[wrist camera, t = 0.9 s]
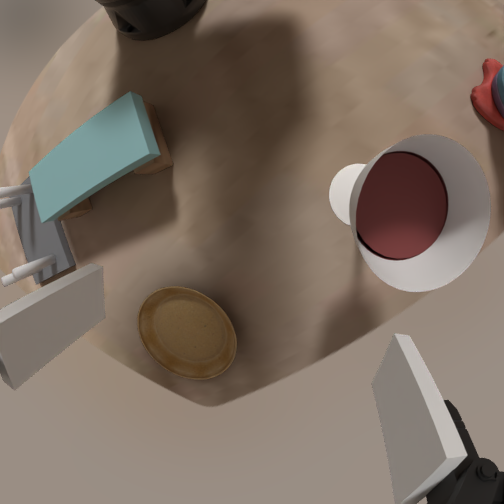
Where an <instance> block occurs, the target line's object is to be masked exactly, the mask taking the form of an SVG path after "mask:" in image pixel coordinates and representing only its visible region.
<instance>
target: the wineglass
mask: <svg viewBox="0 0 504 504" xmlns="http://www.w3.org/2000/svg"><path fill="white" fill-rule="evenodd" d="M329 200H330V203H331V207H332V210H333V211H334V213H335V214H336V216H337V217H338V218H339V219H340V220H341V221H343V222H344V223H345V224H347V225H350V226H351V229H352V233H353V236H354V239H355V241H356V244H357V246H358V248H359V250H360V252H361V255H362V256H363V258H364V260H365V261H366V263H367V264H368V266H369V267H370V268H371V270H372V271H373V272H374V273H375V274H376V275H377V276H378V277H379V278H380V279H381V280H382V281H384V282H385V283H387V284H388V285H390V286H392V287H395V288H397V289H400V290H404V291H408V292H423V291H430V290H433V289H437V288H440V287H442V286H444V285H446V284H448V283H450V282H451V281H453V280H454V279H456V278H457V277H458V276H459V275H461V274H462V273H463V272H464V271H465V270H466V269H467V268H468V267H469V265H470V264H471V263H472V262H473V261H474V259H475V258H476V256H477V254H478V253H479V251H480V249H481V247H482V245H483V243H484V241H485V237H486V234H487V231H488V227H489V222H490V212H491V202H490V193H489V188H488V183H487V181H486V178H485V175H484V173H483V171H482V169H481V167H480V165H479V163H478V162H477V161H476V159H475V158H474V157H473V155H472V154H471V153H470V152H469V151H468V150H467V149H466V148H465V147H463V146H462V145H460V144H459V143H457V142H456V141H454V140H452V139H449V138H447V137H444V136H439V135H432V134H423V135H417V136H413V137H410V138H407V139H404V140H402V141H400V142H398V143H396V144H394V145H392V146H391V147H389V148H387V149H385V150H384V151H382V152H381V153H379V154H378V155H377V156H376V157H374V158H373V159H372V160H371V161H370V162H369V163H368V164H367V165H366V164H353V165H349V166H346V167H345V168H343V169H342V170H340V171H339V172H338V173H337V175H336V176H335V177H334V178H333V180H332V183H331V186H330V190H329Z"/></svg>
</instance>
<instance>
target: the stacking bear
mask: <svg viewBox="0 0 504 504" xmlns="http://www.w3.org/2000/svg"><path fill="white" fill-rule="evenodd" d="M483 71H484V80H483V82H482V84H481V85H480V86H476V87H474V88H473V89H472V94H471V99H472V102H473V105H474V107H475V108H476V110H477V111H478V112H479V113H480V114H481V115H482V116H483V117H484V118H485V119H486V120H487V121H488V122H490V123H491V124H492V125H494V126H495V127H497V128H499V129H501V130H503V131H504V66H503V65H501V64H500V63H499V62H498V61H497V60H495V59H486V60H485V62H484V63H483Z"/></svg>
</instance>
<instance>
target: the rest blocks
mask: <svg viewBox="0 0 504 504" xmlns="http://www.w3.org/2000/svg"><path fill="white" fill-rule="evenodd" d="M143 103H144V106H145V109H146V112H147V115H148V118H149V121H150V125H151V128H152V131H153V134H154V137H155V140H156V143H157V146H158V148H159V151H160V154H161V155H159V156H158V157H156V158H154V159H152V160H150V161H148V162H146V163H144V164H143V165H141V166H139V167H137V168H135V169H134V170H133V172H134V174H156V173H157V172H159V171H161V170H163V169H165V168H167V167H169V166H171V165H173V162H172V159H171V156H170V153H169V150H168V147H167V145H166V142H165V139H164V136H163V133H162V130H161V127H160V124H159V121H158V118H157V115H156V112H155V109H154V106H153V105H151V104H149V103H147V102H144V101H143ZM91 209H92V206H91V203H90V200H89V197H88V198H86V199H84V200H83V201H81V202H80V203H78V204H77V205H75V206H74V207H72V208H71V209H70V210H68V211H67V212H65V213H64V214H62V215H61V216H59V217H58V221H61V220H66V219H70V218H75V217H79V216H82V215H83V214H85V213H86V212H88V211H90V210H91Z"/></svg>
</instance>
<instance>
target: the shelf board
mask: <svg viewBox="0 0 504 504" xmlns="http://www.w3.org/2000/svg"><path fill="white" fill-rule="evenodd" d="M159 155H161V154H160V151H159V148H158V146H157V143H156V140H155V137H154V134H153V131H152V128H151V125H150V121H149V118H148V115H147V112H146V109H145V106H144V103H143V99H142V96H140V95H138V94H136V93H133V92H131V91H130V92H128V93H126V94H125V95H123V96H122V97H120V98H119V99H117V100H116V101H114V102H113V103H112V104H110V105H109V106H107V107H106V108H104V109H103V110H102V111H100V112H99V113H97V114H96V115H95V116H93V117H92V118H91V119H89V120H88V121H87V122H85V123H84V124H83V125H82V126H80V127H79V128H78V129H77V130H75V131H74V132H73V133H72V134H70V135H69V136H68V137H67V138H66V139H64V140H63V141H62V142H61V143H60V144H58V145H57V146H56V147H55V148H54V149H53V150H52V151H51V152H49V153H48V154H47V155H46V156H45V157H44V158H43V159H42V160H41V161H40V162H39V163H38V164H37V165H35V166H34V167H33V168H32V169H31V170H30V171H29V176H30V180H31V185H32V189H33V193H34V197H35V201H36V205H37V209H38V212H39V216H40V219H41V222H42V223H46V222H50V221H54V220H55V219H57V218H58V217H59V216H61V215H62V214H64V213H65V212H67V211H68V210H70V209H71V208H72V207H74V206H75V205H77V204H78V203H80V202H81V201H83V200H84V199H86V198H88V197H89V196H91V195H92V194H94V193H95V192H97V191H98V190H100V189H102V188H103V187H105V186H107V185H108V184H110V183H111V182H113V181H115V180H116V179H118V178H120V177H122V176H123V175H125V174H127V173H128V172H130V171H132V170H134V169H135V168H137V167H139V166H141V165H143V164H144V163H146V162H148V161H150V160H152V159H154V158H156V157H158V156H159Z"/></svg>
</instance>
